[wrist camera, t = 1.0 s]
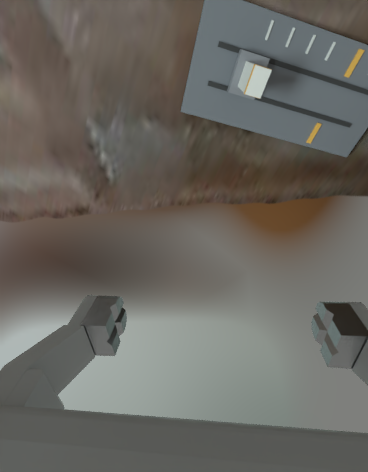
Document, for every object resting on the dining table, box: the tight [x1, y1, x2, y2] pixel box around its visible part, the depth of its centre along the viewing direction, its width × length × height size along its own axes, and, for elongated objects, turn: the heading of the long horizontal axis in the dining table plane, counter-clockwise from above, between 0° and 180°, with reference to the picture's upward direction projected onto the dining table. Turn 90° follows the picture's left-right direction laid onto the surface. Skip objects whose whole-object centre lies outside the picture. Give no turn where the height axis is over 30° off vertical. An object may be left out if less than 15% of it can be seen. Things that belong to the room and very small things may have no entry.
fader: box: [227, 49, 272, 100], centre depth 31 cm, size 5×4×8 cm
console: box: [181, 0, 368, 157], centre depth 36 cm, size 14×30×2 cm, turn 76°
